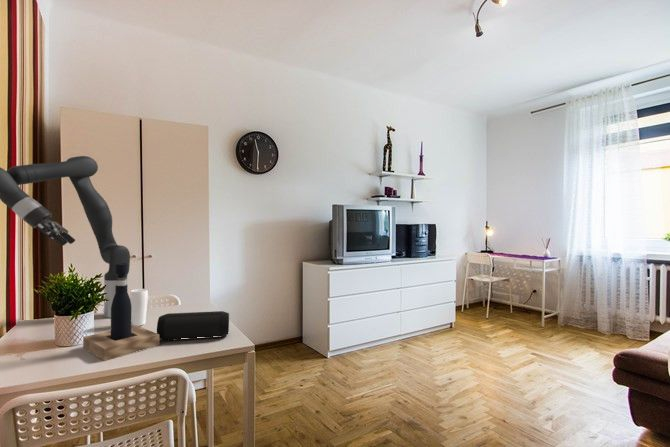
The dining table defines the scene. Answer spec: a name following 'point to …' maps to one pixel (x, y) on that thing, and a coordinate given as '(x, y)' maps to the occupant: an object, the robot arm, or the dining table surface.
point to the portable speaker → (193, 325)
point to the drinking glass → (138, 306)
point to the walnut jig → (120, 343)
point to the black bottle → (121, 306)
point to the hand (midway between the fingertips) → (69, 243)
